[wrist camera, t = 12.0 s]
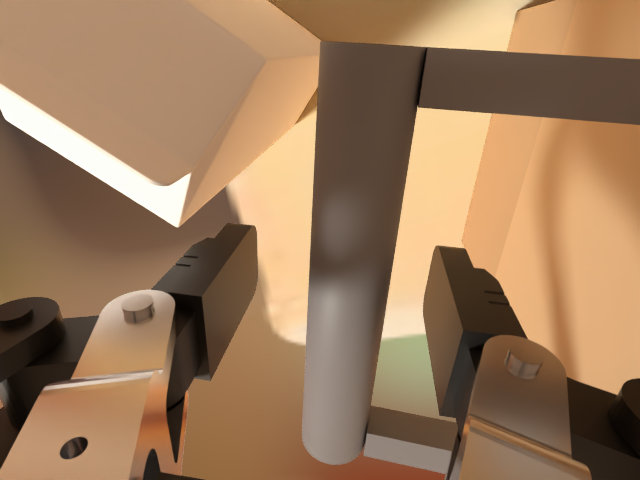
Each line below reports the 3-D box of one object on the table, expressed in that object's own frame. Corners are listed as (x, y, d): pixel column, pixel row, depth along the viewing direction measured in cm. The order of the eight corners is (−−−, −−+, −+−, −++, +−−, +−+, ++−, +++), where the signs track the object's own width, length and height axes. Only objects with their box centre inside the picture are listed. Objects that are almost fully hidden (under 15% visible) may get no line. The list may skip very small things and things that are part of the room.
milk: (265, -2, 26) (-101, -181, 6) (340, 54, 27) (227, 54, 7) (225, 80, 28) (-124, 139, 9) (294, 128, 29) (117, 282, 10)
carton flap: (597, -12, 15) (377, -19, 17) (1416, -282, 3) (287, -223, 4) (494, 317, 22) (346, 294, 24) (601, 646, 10) (279, 558, 11)
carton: (516, 11, 24) (596, -12, 15) (764, 22, 23) (1011, 5, 14) (461, 240, 31) (493, 316, 22) (648, 260, 30) (761, 349, 21)
